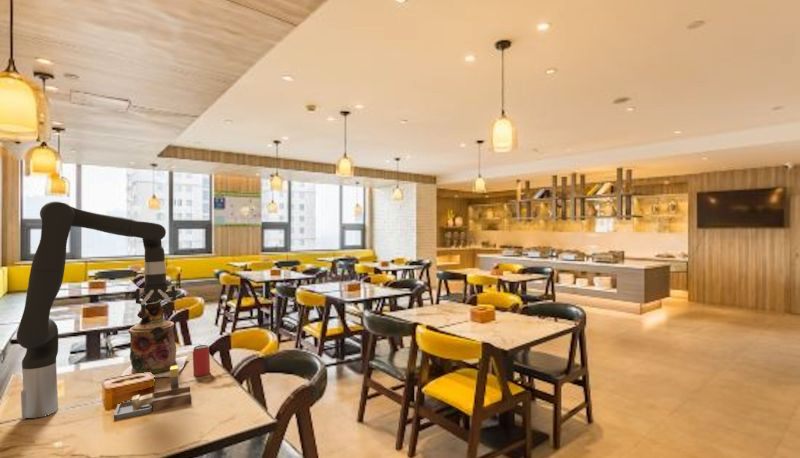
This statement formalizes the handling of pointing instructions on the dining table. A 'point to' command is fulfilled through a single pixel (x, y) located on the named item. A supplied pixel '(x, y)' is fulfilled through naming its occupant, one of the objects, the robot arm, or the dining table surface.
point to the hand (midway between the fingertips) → (156, 312)
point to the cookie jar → (153, 344)
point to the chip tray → (131, 410)
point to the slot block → (171, 398)
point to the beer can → (201, 360)
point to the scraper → (174, 377)
